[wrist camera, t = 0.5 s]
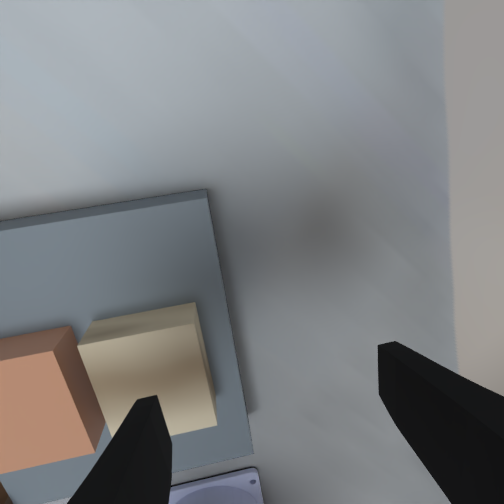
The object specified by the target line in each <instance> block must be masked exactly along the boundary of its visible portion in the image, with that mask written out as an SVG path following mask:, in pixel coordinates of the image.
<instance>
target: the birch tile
mask: <svg viewBox="0 0 504 504" xmlns="http://www.w3.org/2000/svg"><path fill="white" fill-rule="evenodd" d="M77 347H78V350H79V353H80V355H81V358H82V361H83V363H84V366H85V368H86V371H87V374H88V376H89V379H90V381H91V384H92V387H93V389H94V392H95V394H96V397H97V400H98V402H99V405H100V407H101V410H102V413H103V415H104V418H105V421H106V423H107V426H108V428H109V431H110V434H111V436H112V438H113V436H114V435H115V433H116V431H117V430H118V428H119V427H120V425H121V423H122V422H123V420H124V419H125V417H126V415H127V414H128V412H129V411H130V409H131V407H132V406H133V404H134V403H135V401H136V400H137V399H140V398H145V397H149V396H153V395H157V396H158V399H159V403H160V406H161V409H162V412H163V415H164V418H165V422H166V425H167V428H168V431H169V434H170V436H172V435H177V434H181V433H186V432H190V431H195V430H199V429H203V428H208V427H212V426H217V408H216V394H215V390H214V385H213V381H212V376H211V372H210V367H209V363H208V358H207V354H206V349H205V344H204V340H203V335H202V331H201V326H200V322H199V317H198V313H197V308H196V304H195V302H193V303H187V304H182V305H177V306H171V307H166V308H161V309H156V310H150V311H145V312H140V313H134V314H129V315H124V316H118V317H113V318H108V319H103V320H97V321H92V322H91V324H90V326H89V327H88V329H87V331H86V332H85V334H84V335H83V337H82V339H81V340H80V342H79V344H78V345H77Z"/></svg>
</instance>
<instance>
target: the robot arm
mask: <svg viewBox="0 0 504 504" xmlns="http://www.w3.org/2000/svg"><path fill="white" fill-rule="evenodd" d="M378 380H379V396H380V397H381V399H382V401H383V403H384V405H385V407H386V409H387V410H388V412H389V414H390V416H391V418H392V419H393V421H394V423H395V425H396V426H397V427H398V429H399V430H400V432H401V433H402V435H403V436H404V437H405V439H406V440H407V442H408V443H409V445H410V446H411V447H412V449H413V450H414V452H415V453H416V454H417V456H418V457H419V459H420V460H421V461H422V463H423V464H424V466H425V467H426V468H427V470H428V471H429V473H430V474H431V475H432V477H433V478H434V480H435V481H436V482H437V484H438V485H439V487H440V488H441V489H442V491H443V492H444V494H445V495H446V496H447V498H448V499H449V501H450V502H451V504H504V397H503V396H501V395H499V394H497V393H495V392H493V391H491V390H488V389H486V388H484V387H482V386H480V385H478V384H476V383H474V382H472V381H470V380H468V379H466V378H464V377H462V376H460V375H458V374H456V373H454V372H453V371H451V370H449V369H447V368H445V367H443V366H441V365H439V364H437V363H436V362H434V361H432V360H430V359H428V358H426V357H425V356H423V355H421V354H419V353H417V352H415V351H413V350H412V349H410V348H408V347H406V346H404V345H402V344H400V343H398V342H396V341H394V342H389V343H385V344H380V345H378ZM171 480H172V441H171V438H170V434H169V431H168V428H167V425H166V422H165V418H164V415H163V412H162V409H161V406H160V403H159V399H158V396H157V395H153V396H149V397H145V398H140V399H137V400H136V401H135V403H134V404H133V406H132V407H131V409H130V411H129V412H128V414H127V415H126V417H125V419H124V420H123V422H122V423H121V425H120V427H119V428H118V430H117V431H116V433H115V435H114V436H113V438H112V439H111V441H110V442H109V444H108V445H107V447H106V448H105V450H104V451H103V453H102V454H101V456H100V457H99V459H98V460H97V462H96V463H95V465H94V466H93V468H92V469H91V471H90V472H89V474H88V475H87V477H86V478H85V479H84V481H83V482H82V484H81V485H80V486H79V488H78V489H77V490H76V492H75V493H74V495H73V496H72V497H71V499H70V500H69V502H68V503H67V504H264V503H263V497H262V492H261V486H260V481H259V475H258V471H257V469H255V468H249V469H245V470H240V471H236V472H232V473H228V474H224V475H219V476H215V477H211V478H207V479H203V480H199V481H194V482H190V483H186V484H182V485H178V486H173V487H171Z"/></svg>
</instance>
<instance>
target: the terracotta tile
mask: <svg viewBox="0 0 504 504" xmlns="http://www.w3.org/2000/svg"><path fill="white" fill-rule="evenodd" d="M77 345H78V343H77V340H76V338H75V335H74V333H73V330H72V327H71V326H65V327H60V328H55V329H50V330H44V331H39V332H34V333H28V334H23V335H18V336H12V337H7V338H2V339H0V474H3V473H8V472H12V471H17V470H21V469H26V468H30V467H35V466H39V465H43V464H48V463H52V462H57V461H61V460H66V459H70V458H75V457H79V456H83V455H88V454H92V453H95V452H96V449H97V446H98V443H99V440H100V437H101V434H102V432H103V429H104V426H105V423H106V421H105V418H104V415H103V413H102V410H101V407H100V405H99V402H98V400H97V397H96V394H95V392H94V389H93V387H92V384H91V381H90V379H89V376H88V374H87V371H86V368H85V366H84V363H83V361H82V358H81V355H80V353H79V350H78V347H77Z"/></svg>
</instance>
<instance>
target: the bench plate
mask: <svg viewBox="0 0 504 504" xmlns="http://www.w3.org/2000/svg"><path fill="white" fill-rule="evenodd" d="M193 302H195V304H196V308H197V313H198V317H199V322H200V326H201V331H202V335H203V340H204V344H205V349H206V354H207V358H208V363H209V367H210V372H211V376H212V381H213V385H214V390H215V394H216V408H217V426H212V427H208V428H203V429H199V430H195V431H190V432H186V433H181V434H177V435H172V436H170V438H171V441H172V473H174V472H179V471H183V470H187V469H191V468H196V467H200V466H204V465H208V464H213V463H217V462H221V461H225V460H230V459H234V458H238V457H242V456H247V455H251V454H254V452H253V446H252V439H251V433H250V427H249V421H248V415H247V410H246V404H245V399H244V393H243V388H242V382H241V377H240V371H239V366H238V360H237V355H236V349H235V344H234V338H233V333H232V327H231V322H230V317H229V311H228V306H227V300H226V295H225V289H224V284H223V278H222V273H221V267H220V262H219V256H218V251H217V245H216V240H215V234H214V229H213V224H212V218H211V213H210V207H209V202H208V196H207V191H206V189H202V190H196V191H190V192H183V193H177V194H171V195H164V196H158V197H152V198H145V199H139V200H132V201H126V202H120V203H113V204H107V205H101V206H94V207H88V208H82V209H75V210H69V211H63V212H56V213H50V214H43V215H37V216H31V217H24V218H18V219H12V220H5V221H0V339H2V338H7V337H12V336H18V335H23V334H28V333H34V332H39V331H44V330H50V329H55V328H60V327H65V326H71V327H72V330H73V333H74V335H75V338H76V340H77V343H78V344H79V342H80V340H81V339H82V337H83V335H84V334H85V332H86V331H87V329H88V327H89V326H90V324H91V322H92V321H97V320H103V319H108V318H113V317H118V316H124V315H129V314H134V313H140V312H145V311H150V310H156V309H161V308H166V307H171V306H177V305H182V304H187V303H193ZM111 439H112V436H111V434H110V431H109V428H108V426H107V423H105V426H104V429H103V432H102V434H101V437H100V440H99V443H98V446H97V449H96V452H95V453H92V454H88V455H83V456H79V457H75V458H70V459H66V460H61V461H57V462H52V463H48V464H43V465H39V466H35V467H30V468H26V469H21V470H17V471H12V472H8V473H3V474H0V481H1V483H2V485H3V487H4V488H5V490H6V492H7V494H8V495H9V497H10V499H11V500H12V502H13V504H43V503H47V502H51V501H55V500H60V499H64V498H68V497H72V496H73V495H74V493H75V492H76V490H77V489H78V488H79V486H80V485H81V484H82V482H83V481H84V479H85V478H86V477H87V475H88V474H89V472H90V471H91V469H92V468H93V466H94V465H95V463H96V462H97V460H98V459H99V457H100V456H101V454H102V453H103V451H104V450H105V448H106V447H107V445H108V444H109V442H110V441H111Z"/></svg>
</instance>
